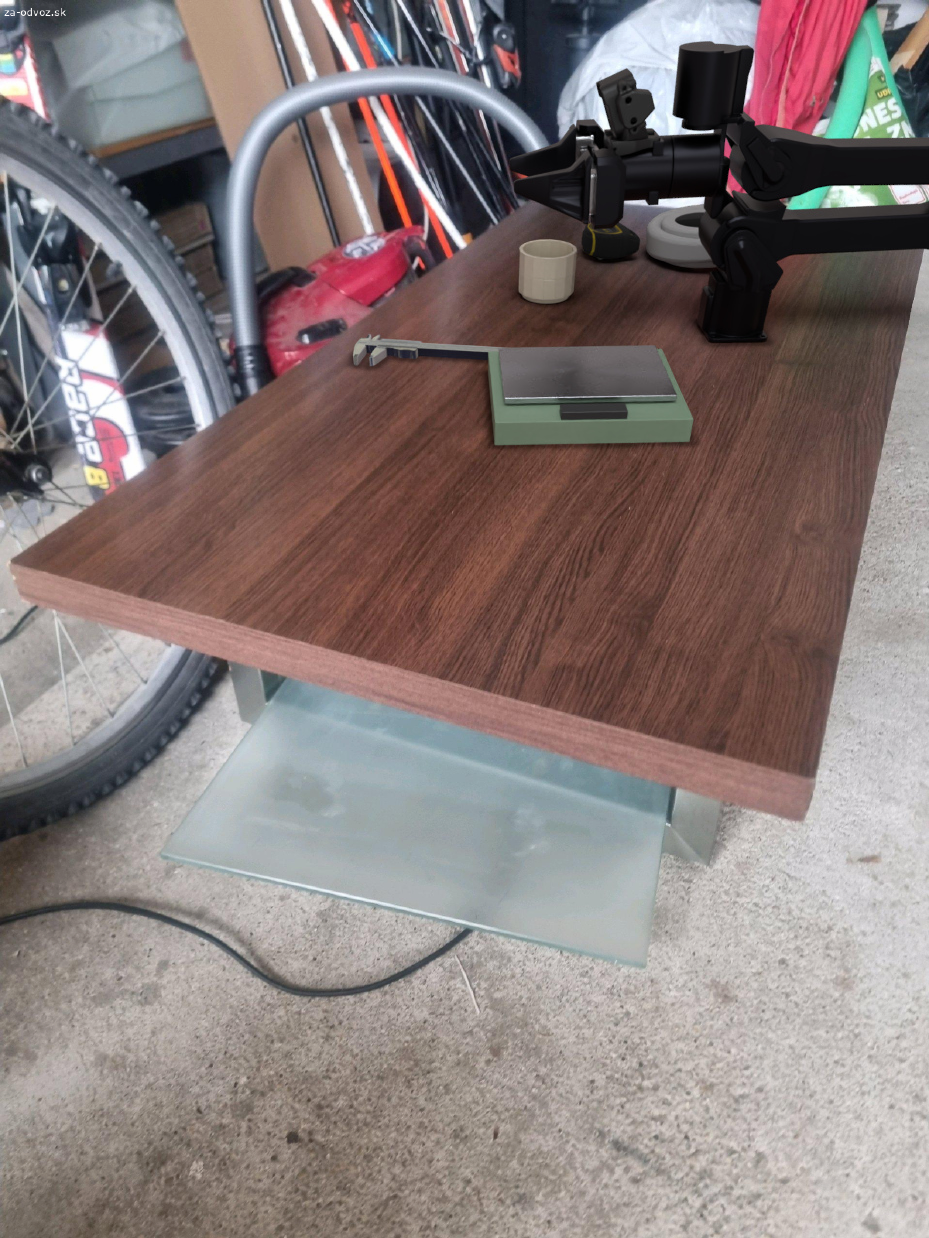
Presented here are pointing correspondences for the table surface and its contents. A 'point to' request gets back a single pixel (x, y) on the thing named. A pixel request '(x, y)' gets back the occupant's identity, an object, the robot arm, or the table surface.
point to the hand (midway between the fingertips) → (511, 175)
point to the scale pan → (584, 374)
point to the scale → (587, 418)
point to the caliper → (415, 350)
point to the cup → (546, 270)
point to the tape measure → (609, 242)
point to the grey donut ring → (678, 238)
